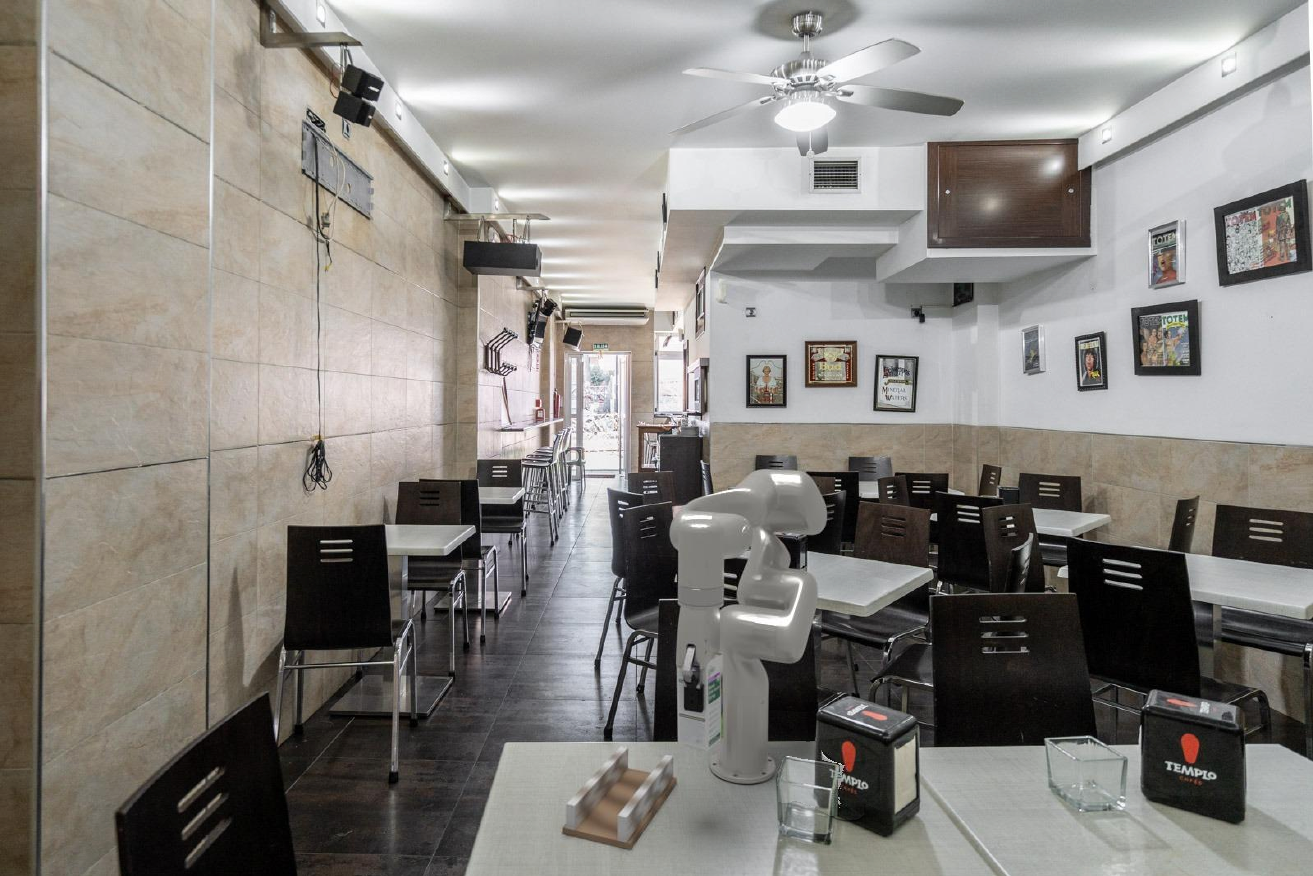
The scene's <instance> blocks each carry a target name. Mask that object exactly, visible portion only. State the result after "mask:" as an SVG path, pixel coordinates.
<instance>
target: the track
mask: <svg viewBox="0 0 1313 876" xmlns="http://www.w3.org/2000/svg"><path fill="white" fill-rule="evenodd" d="M677 783H678V780H677V777H675V776H674V755H671V754H665V755H664V756H663V757H662V759H661V760H660V761H659V763H657V765H656V766H655V767H654V769H653V770H652V771H651V772H649V771H644V770H639V769H634V768H629V747H627V746H622V745H621V746H619V748H618V749H617V750H616V751H614V753H613V754H612V755H611V756H609V758H608V759H607V761H605V762H604V763H603V765H602V766H601V767H600V768H599V769H597V771H596V772H595V773H594V774H593V775H592V776H591V777H590V778H589V779H588V781H587V782H586V783H584V785H583V786H582V787H581V788H580V789H579V790H578V791H577V792H576V793H575V794H574V795H573V796H572V798H570V800H568V802H566V806H565V807H566V808H565V809H566V813H565V816H566V817H565V818H566V819H565V824H564V825H563V826H562V834H563V835H567V836H571V837H576V838H581V839H584V840H589V841H593V842H596V843H600V844H601V843H602V844H604V845H609V846H612V847H616V848H621V849H625V850H632V848H633V847H634V845H635V844H636V842H637V841H638V839H639V838H640V837H641V835H642V834H643V832H645V829H646V828H647V826H649V823H650V822H651V821H652V819H653V818H654V816H655V815H656V814H657V812H659V809H660V808H661V807H662V805H663V804H664V802H665V801H666V799H667V798H668V796H669V795H670V793H671V792H672V790H673V789H674V788H675V786H676V785H677Z"/></svg>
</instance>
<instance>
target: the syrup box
mask: <svg viewBox="0 0 1313 876" xmlns="http://www.w3.org/2000/svg"><path fill="white" fill-rule="evenodd" d="M699 666H700V664H696V663H694V665H693V667H697V668H699ZM682 669H683V666H682V667H681V668H678V667H677V666H676V688H677V689H676V691H677V692H676V693H677V694H676V696H677V697H676V698H677V699H676V700H677V702H676V703H677V704H676V705H677V707H676V709H677V743H678V744H680V745H683V746H686V747H689V748H691V749H692V748H693V749H695V750H700V751H703V752H709V751H710V750H711V749H712V748H713V747H714V746H715V745H716V744H717V743H718V742H719V741H720V740H721V739H722V738H723V657H722V654H720V653H716V654H715V655H714V657H713V658H712V659H711V660H710V661H709V663H708V664H707V668H706V669H705V670H703V679H702V687H704V710H703V712H702V713H699V712H693V711H686V710H684V686H683V682H684V679H683V675H682ZM693 675H695V676H696V678H697V677H698V672H695V671H693Z"/></svg>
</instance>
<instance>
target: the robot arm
mask: <svg viewBox="0 0 1313 876" xmlns="http://www.w3.org/2000/svg"><path fill="white" fill-rule="evenodd" d="M827 520H828V510H827V505H826V503H825V499H824V497H823V495H822V493H821V491H820V489H819V487H818V485H817V484H816V482H815V481H814V479H813V478H812V477H811V476H810V475H809V474H808V473H807V472H804V471H801V470H794V469H793V470H791V469H772V468H771V469H769V468H768V469H767V468H765V469H757V470H755V471H752V472H750V473H749V474H748V475H746V477H745V478H744V479H742V480H741V481H740V482H739V483H738V484H737V485H736V486H734V487H733V488H730V489H726V490H722V491H719V492H716V493H712V494H707V495H704V496H699V497H698V498H694V499H693V500H691V501H688V503H686V504H685V505H684V506H683V507H681V508H680V509H679V510H678V511H677V513H675V515H674V517H673V519H672V521H671V524H670V527H669V539H670V542H671V544H672V546H673V547H674V549H675V550H677V551H678V553H677V555H678V556H677V557H678V559H677V560H678V561H677V562H678V564H677V567H678V569H677V571H678V572H677V573H678V574H677V576H678V577H677V578H678V579H677V582H678V583H677V604H678V605H679V606H680V608H679V614H678V622H677V635H676V654H675V655H676V657H675V658H676V659H675V660H676V661H675V664H676V668H677V667H678V668H681V667H682V666H683V669H682V675H683V679H684V682H683V686H684V710H686V711H693V712H699V713H702V712H703V710H704V687H702V679H703V670H705V669H706V668H707V664H708V663H709V661H710V660H711V659H712V658H713V657H714V655H715V654H716V653H720V654H722V657H723V738H722V739H721V740H720V741H719V742H718V744H717V752H715V753H714V754H713V755H712V756H711V757H710V759H709V767H710V770H711V772H712V773H713V774H714V775H716V776H717V777H719V778H720V779H722V780H725V781H727V782H731V783H734V784H742V785H745V784H747V785H751V784H758V783H763V782H765V781H767V780H769V779H771V778H772V777H773V776H774V775H775V773H776V768H777V767H776V762H775V760H774V759H773V758H772V757H771V756H770V755H769V754H768V753H769V751H768V749H769V747H768V746H769V744H768V743H769V688H770V687H769V686H770V685H769V677H768V674H767V670H766V669H765V667H764V665H763V663H762V661H761V660H764V661H770V662H775V663H776V662H777V663H783V664H795V663H796V662H798V661H800V660H801V658H802V657H803V655H804V652H805V650H806V647H807V643H808V640H809V635H810V633H811V629H812V625H813V621H814V617H815V614H816V609H817V605H818V599H819V597H818V596H819V594H818V593H819V591H818V583H817V580H816V578H815V577H814V576H813V574H811V573H810V572H808V571H806V570H803V569H798V568H789V567H790V566H791V565H790V564H791V554H790V552H789V551H788V549H787V547H786V545H785V544H784V543H783V542H782V541H781V540H780V539H779V537H777V535H776V533H780V534H794V535H795V534H796V535H805V536H807V535H808V536H815V535H817V534H820V533H821V532H822V531H823V530H824V528H825V527H826V525H827ZM749 550H750V553H749V555H748V559H747V562H746V564H745V567H744V570H743V571H742V574H741V576H740V579H739V582H738V586H737V590H736V598H737V602H738V604H737V603H736V604H730V605H726V606H724V604H725V601H724V600H725V596H724V595H725V594H724V593H725V560H727V559H736V558H737V559H738V558H740V557H741V556H743V555H745V554H746V553H747V551H749ZM723 606H724V607H723ZM720 608H721V609H720ZM694 663H696V664H700V666H699V668H697V667H693V665H694ZM693 671H695V672H698V677H697V678H696V676H695V675H693Z"/></svg>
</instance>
